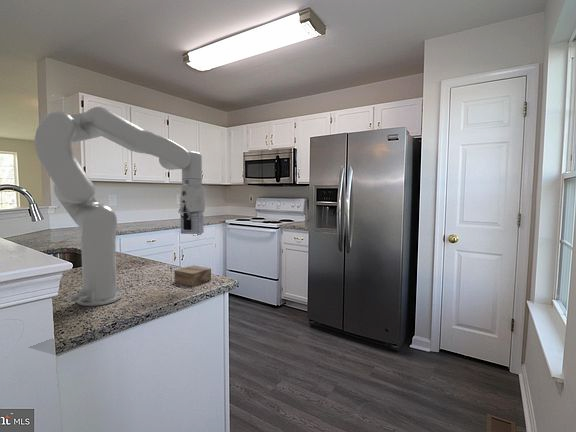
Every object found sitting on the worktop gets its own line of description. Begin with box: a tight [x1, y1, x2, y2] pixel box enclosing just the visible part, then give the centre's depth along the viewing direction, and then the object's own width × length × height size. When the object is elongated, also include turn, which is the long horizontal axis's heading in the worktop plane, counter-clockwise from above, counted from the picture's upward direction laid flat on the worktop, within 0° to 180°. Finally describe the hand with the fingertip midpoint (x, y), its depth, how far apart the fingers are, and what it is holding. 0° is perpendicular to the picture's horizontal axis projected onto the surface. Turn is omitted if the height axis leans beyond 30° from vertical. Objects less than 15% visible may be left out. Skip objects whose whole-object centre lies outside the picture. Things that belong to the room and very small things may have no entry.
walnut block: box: [174, 265, 212, 287], centre depth 125 cm, size 10×10×5 cm
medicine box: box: [179, 212, 205, 235], centre depth 124 cm, size 8×4×9 cm, turn 84°
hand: (192, 228), depth 124 cm, fingers closed on medicine box, 5 cm apart
